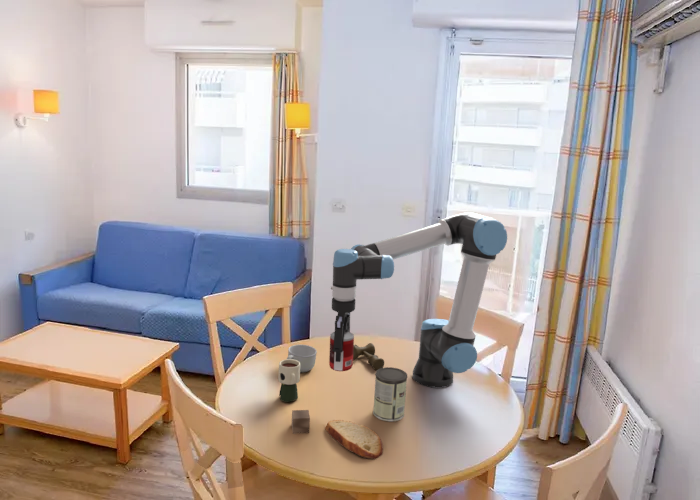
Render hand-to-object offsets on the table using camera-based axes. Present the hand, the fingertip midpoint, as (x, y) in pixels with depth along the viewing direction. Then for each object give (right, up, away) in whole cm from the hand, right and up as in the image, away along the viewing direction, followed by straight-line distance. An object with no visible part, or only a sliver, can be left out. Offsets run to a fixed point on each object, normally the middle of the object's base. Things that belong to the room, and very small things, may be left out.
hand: (340, 364), depth 182 cm
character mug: (-18, -13, +6) cm, 23 cm away
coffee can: (+16, -16, 0) cm, 23 cm away
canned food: (0, -1, 0) cm, 1 cm away
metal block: (-12, -17, -12) cm, 24 cm away
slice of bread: (+4, -20, -16) cm, 26 cm away
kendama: (+10, -7, +41) cm, 43 cm away
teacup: (-16, -8, +29) cm, 34 cm away
